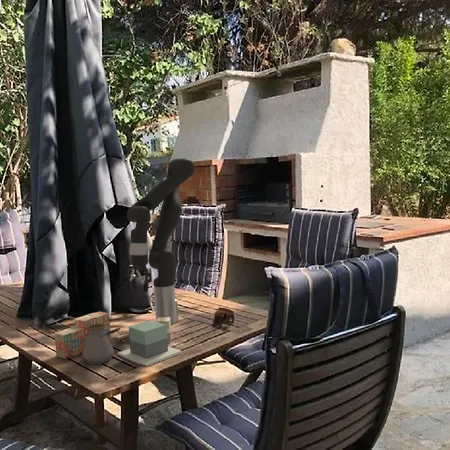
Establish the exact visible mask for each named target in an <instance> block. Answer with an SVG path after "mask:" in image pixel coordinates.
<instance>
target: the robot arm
mask: <svg viewBox="0 0 450 450" xmlns="http://www.w3.org/2000/svg"><path fill="white" fill-rule="evenodd" d="M195 168H196V166H195V163H194V162H193V160H191V158H188V157H187V158H183V157H182V158H174V159H172V160H171V161H170V162H169V164H168V167H167V172H166V178H165V179H164V180H162V181H160V182H159V183H158V184H156V185H154V186H153V187H152V188H151V189H150V190H149V191H148V192H147V193H146V194H145V196H144V197H142V198H141V199H139V200H138V201H136V202H134V203H133V204H131V206H130V207H129V208H128V210H127V212H126V217H127V219H128V221H129V222H131V223H135V228H132V229H131V230H130V244H129V245H130V246H129V260H130V261H129V263H130V265H128V266H127V280H129V281H130V289H131V291H136V290H137V278H139V279H140V280H141V282H142V293H148V292H149V284H150V283H153V295H154V297H153V299H154V309H155V310H154V311H155V322H157V319H158V318H163V317H170V322H171V325H174V324H176V323H177V322H179V307H178V300H177V299H176V292H175V291H176V290H175V279H176V274H177V273H176V272H177V270H176V256H175V254H174V253H173V251H172V250H170V249H167V244H168V242H169V239H170V237H171V235H173V233H174V231H175V230H176V229H177V227H178V225H179V223H180V219H181V215H182V211H183V210H182V208H183V207H182V201H181V197H180V185H182V184H184V182H185V181H187V180H188V179H190V178H191V177H192V176H193V175H194V173H195V170H196V169H195ZM161 203H162V204H161ZM160 204H161V207H160V211H159V217H158V223H157V227H156V229H155V235H154V238H153V241H152V244H151V247H150V250H149V246H148V231H149V227H150V223H151V218H152V217H151V216H152V215H151V212H150V211H153V210H155V209H156V208H157V207H159V205H160ZM148 264H149V267H148V268H147V265H148ZM152 269H154V270H158V275H157V277H155V278H154V279H153V275H152ZM152 279H153V282H152Z"/></svg>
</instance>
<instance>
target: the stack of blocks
mask: <svg viewBox="0 0 450 450" xmlns="http://www.w3.org/2000/svg"><path fill="white" fill-rule="evenodd" d="M73 322H74V326H72V327H71V326H70V327H68V328H66V329H63V330H59V331H56V332H54V339H55V340H54V344H55V345H54V346H55V354H56V356H57V357H59V358H62V359H69V358H71V357H74V356H78V355H80V354H83V351H84V348H85V345H86V342H87V339H88V336H89V331H88V329H87V327H88V326H90V325H93V324H104V325H105V327H104V332H105V333H107V332H109V331H111V322H110V313H108V312H104V311H97V312H91V313H87V314H86V315H83V316H80V317H76V318H73ZM106 336H107V338H108V340H109V342H110V343H112V337H111V334H109V335H106Z"/></svg>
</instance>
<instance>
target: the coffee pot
mask: <svg viewBox="0 0 450 450" xmlns="http://www.w3.org/2000/svg"><path fill="white" fill-rule="evenodd" d="M104 327H105V325H104V324H93V325H90V326H88V327H87V329H88V331H89V336H88V339H87V342H86V345H85V348H84V351H83V353H81V355H82V358H83V360H84V361H86V362H88V364H90V365H101V364H104V363H106V362H109V361H110V359H112V357H113V356H114V354H115V349H114V347H113V345H112V344H111V343H112V342H111V343H110V342H109V340H108V338H107V336H106V335H109V334H110V335H111V334H114V333H117V334H119V335H120V333H119V331H120V330H121V328H120V327H116V328H115V329H110V331H109V332H107V333H105V332H104ZM123 332H124V331H122V332H121V334H122V333H123Z"/></svg>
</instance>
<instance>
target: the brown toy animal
mask: <svg viewBox="0 0 450 450" xmlns="http://www.w3.org/2000/svg"><path fill="white" fill-rule="evenodd" d="M234 313H235V311H233V310H232V309H230V308H226V307H220V306H219V307H217V310H216V311H215V312H214V319H212V325H213V326H217V327H221V328H222V327H223V324H224V325H225V326H226V325H229V323H230V320H232V323H233V322H235V314H234Z"/></svg>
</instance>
